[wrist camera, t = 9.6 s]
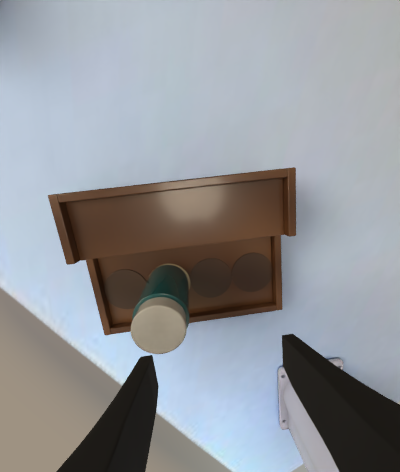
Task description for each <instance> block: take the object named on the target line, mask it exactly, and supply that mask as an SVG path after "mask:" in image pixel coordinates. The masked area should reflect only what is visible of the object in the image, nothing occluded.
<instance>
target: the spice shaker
mask: <svg viewBox="0 0 400 472" xmlns="http://www.w3.org/2000/svg"><path fill="white" fill-rule="evenodd" d="M188 325H189V281H188V277H187V275H186V273H185V272H184V271H183V270H182V269H181V268H179V267H177V266H174V265H162V266H159V267H157V268H156V269H154V270H153V271H152V273H151V274H150V276H149V278H148V280H147V282H146V284H145V287H144V289H143V291H142V293H141V295H140V298H139V300H138V302H137V304H136V306H135V308H134V311H133V315H132V324H131V335H132V338H133V340H134V342H135V343H136V345H137V346H138V347H140V348H141V349H142V350H144V351H146V352H149V353H154V354H163V353H167V352H170V351H172V350H174V349H176V348H177V347H178V346H179V345H180V344H181V343H182V341H183V340H184V338H185V335H186V329H187V327H188Z"/></svg>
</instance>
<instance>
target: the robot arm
mask: <svg viewBox="0 0 400 472" xmlns="http://www.w3.org/2000/svg"><path fill="white" fill-rule="evenodd" d="M282 349H283V367H280V368H279V369H278V390H279V422H280V427H281V429H283V430H286V429H289V430H290V432H291V435H292V437H293V439H294V441H295V444H296V446H297V448H298V451H299V453H300V455H301V457H302V460H303V462H304V464H305V467H306V469H307V471H308V472H400V405H399V404H397V403H396V402H394V401H392V400H390V399H388V398H387V397H385V396H383V395H381V394H380V393H378V392H376V391H375V390H373V389H371V388H370V387H368V386H366V385H365V384H363V383H361V382H360V381H358V380H357V379H355V378H354V377H352V376H350V375H349V374H347V373H346V372H344V371H343V361H342V360H341V359H339V358H336V359H330V360H327V359H326V358H324V357H323V356H322V355H320V354H319V353H318V352H316V351H315V350H314V349H312V348H311V347H310V346H308V345H307V344H306V343H304V342H303V341H302V340H300V339H299V338H298V337H296V336H295V335H294V334H289V335H282ZM157 397H158V382H157V377H156V372H155V367H154V362H153V357H152V355H150V356H144V357H140V359H139V360H138V362H137V363H136V365H135V367H134V368H133V370H132V372H131V373H130V375H129V377H128V378H127V380H126V381H125V383H124V384H123V386H122V388H121V389H120V391H119V392H118V394H117V395H116V397H115V398H114V400H113V401H112V402H111V404H110V405H109V407H108V408H107V410H106V411H105V412H104V414H103V415H102V417H101V418H100V419H99V421H98V422H97V423H96V425H95V426H94V428H92V430H91V431H90V432H89V434H88V435H87V436H86V437H85V439H84V440H83V441H82V442H81V444H80V445H79V446H78V447H77V448H76V450H75V451H74V452H73V453H72V454H71V456H70V457H69V458H68V459H67V460H66V461H65V462H64V464H63V465H62V466H61V467H60V468H59V469H58V471H57V472H145V469H146V464H147V459H148V453H149V447H150V442H151V437H152V430H153V426H154V420H155V414H156V408H157Z"/></svg>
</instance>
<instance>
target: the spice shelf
mask: <svg viewBox="0 0 400 472" xmlns="http://www.w3.org/2000/svg"><path fill="white" fill-rule="evenodd" d="M48 198H49V201H50V205H51V209H52V212H53V216H54V220H55V223H56V227H57V230H58V234H59V238H60V241H61V245H62V249H63V252H64V256H65V259H66V263H67V264H75V263H77V262H78V261H80V260H86V262H87V266H88V270H89V274H90V278H91V282H92V286H93V290H94V294H95V298H96V302H97V306H98V310H99V314H100V318H101V322H102V326H103V330H104V334H105V335H110V334H116V333H123V332H130V331H131V324H132V315H133V311H134V308H135V306H136V304H137V302H138V300H139V298H140V295H141V293H142V291H143V289H144V287H145V284H146V282H147V280H148V278H149V276H150V274H151V273H152V271H153V270H154V269H156V268H157V267H159V266H162V265H174V266H177V267H179V268H181V269H182V270H183V271H184V272H185V273H186V275H187V277H188V281H189V323H193V322H200V321H207V320H214V319H221V318H227V317H234V316H241V315H248V314H255V313H262V312H269V311H276V310H282V272H281V235H287V236H295V235H296V168H285V169H276V170H267V171H258V172H249V173H241V174H232V175H223V176H214V177H205V178H196V179H187V180H178V181H169V182H160V183H151V184H142V185H133V186H125V187H116V188H107V189H98V190H89V191H80V192H71V193H62V194H53V195H48Z"/></svg>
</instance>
